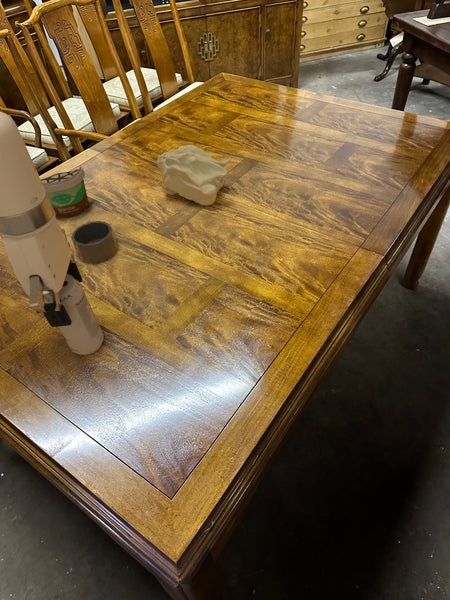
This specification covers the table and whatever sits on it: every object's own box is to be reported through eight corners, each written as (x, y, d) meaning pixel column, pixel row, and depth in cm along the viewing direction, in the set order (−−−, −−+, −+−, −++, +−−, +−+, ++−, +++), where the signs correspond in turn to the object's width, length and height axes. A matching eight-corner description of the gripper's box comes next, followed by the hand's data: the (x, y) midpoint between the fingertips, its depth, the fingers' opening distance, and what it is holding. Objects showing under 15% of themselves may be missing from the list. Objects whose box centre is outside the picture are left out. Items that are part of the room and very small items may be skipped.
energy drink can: (74, 333, 77) (43, 272, 67) (107, 329, 77) (81, 268, 67) (68, 359, 73) (34, 299, 62) (102, 355, 73) (74, 295, 62)
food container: (49, 225, 102) (33, 189, 95) (46, 213, 107) (30, 178, 99) (99, 211, 105) (86, 175, 98) (94, 199, 109) (81, 164, 102)
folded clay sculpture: (218, 213, 112) (244, 162, 103) (196, 229, 102) (222, 175, 93) (165, 176, 114) (185, 123, 104) (137, 189, 104) (157, 131, 94)
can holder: (75, 265, 91) (67, 247, 87) (82, 241, 97) (75, 223, 94) (115, 261, 91) (109, 243, 87) (119, 237, 97) (113, 219, 93)
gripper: (13, 182, 61) (56, 269, 73) (-29, 257, 49) (31, 347, 61) (63, 176, 61) (98, 265, 73) (34, 250, 49) (82, 342, 61)
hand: (68, 302), depth 67 cm, fingers open, 9 cm apart
